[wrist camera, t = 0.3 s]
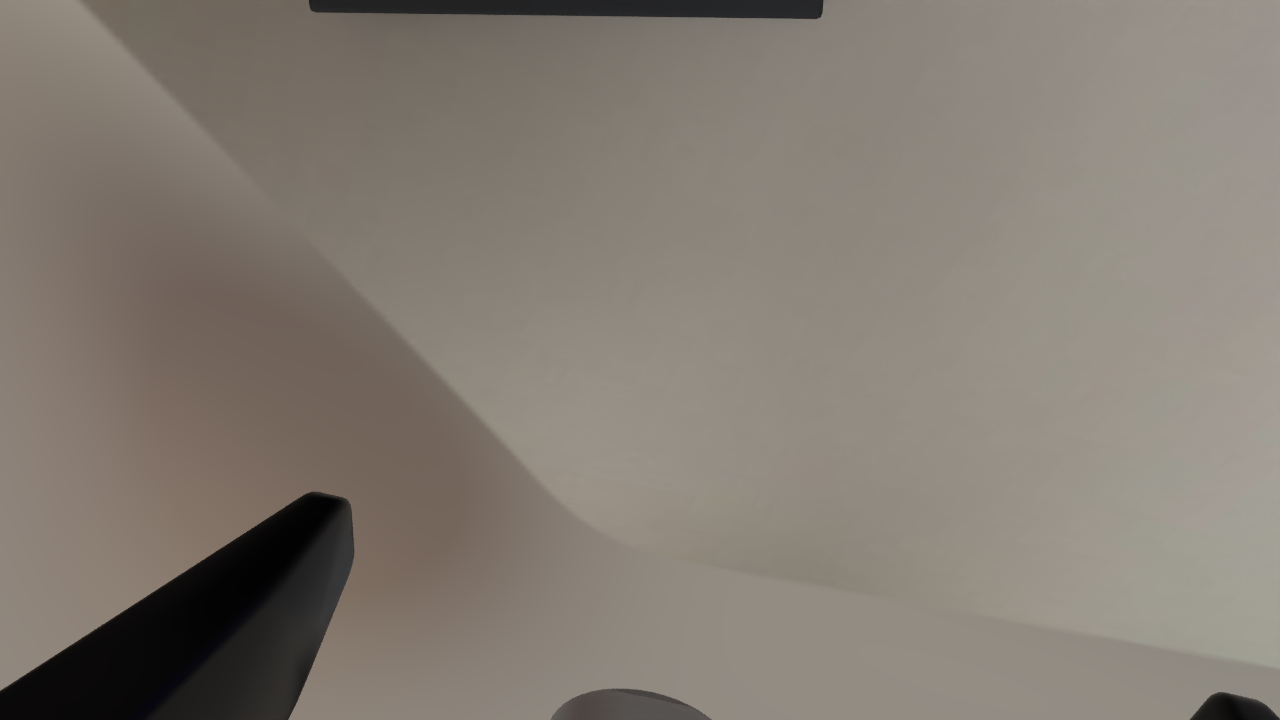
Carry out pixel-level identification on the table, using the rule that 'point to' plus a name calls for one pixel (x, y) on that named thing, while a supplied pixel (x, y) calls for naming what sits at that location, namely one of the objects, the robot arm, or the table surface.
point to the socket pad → (584, 7)
